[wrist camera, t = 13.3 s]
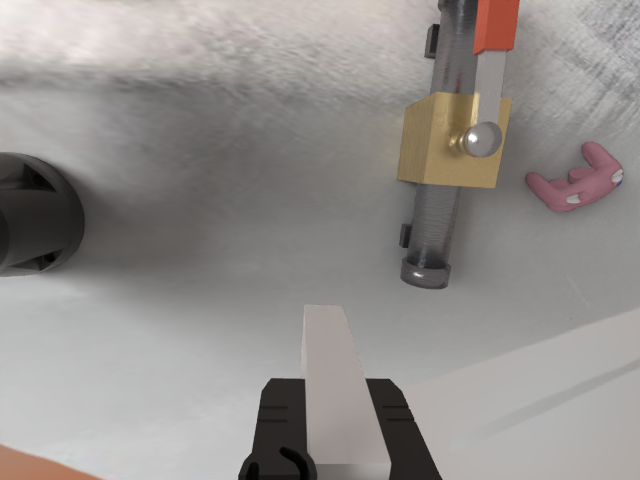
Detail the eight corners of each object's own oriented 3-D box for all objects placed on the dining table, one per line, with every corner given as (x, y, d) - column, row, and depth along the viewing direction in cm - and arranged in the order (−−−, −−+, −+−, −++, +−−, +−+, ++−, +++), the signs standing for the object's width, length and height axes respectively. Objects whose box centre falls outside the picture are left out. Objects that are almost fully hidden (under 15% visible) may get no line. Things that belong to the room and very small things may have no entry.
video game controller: (521, 197, 45) (563, 224, 39) (522, 172, 42) (568, 198, 37) (584, 164, 44) (635, 186, 39) (589, 136, 41) (646, 156, 36)
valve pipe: (385, 269, 44) (412, 301, 34) (420, -8, 36) (469, -78, 26) (439, 271, 45) (481, 304, 34) (485, 0, 37) (558, -65, 26)
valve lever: (490, 157, 31) (501, 157, 29) (459, 157, 30) (468, 157, 29) (514, -34, 27) (529, -48, 25) (478, -36, 27) (491, -50, 25)
